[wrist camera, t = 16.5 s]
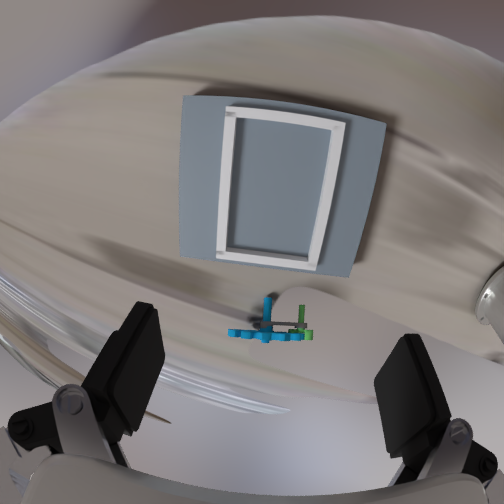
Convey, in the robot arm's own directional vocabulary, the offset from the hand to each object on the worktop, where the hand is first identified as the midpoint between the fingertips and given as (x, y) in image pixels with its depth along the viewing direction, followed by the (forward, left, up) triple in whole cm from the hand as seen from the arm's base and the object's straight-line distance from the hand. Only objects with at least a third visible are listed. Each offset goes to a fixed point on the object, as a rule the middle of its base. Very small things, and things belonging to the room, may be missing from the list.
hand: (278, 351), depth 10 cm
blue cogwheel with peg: (-2, +20, -24) cm, 31 cm away
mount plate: (0, 0, -23) cm, 22 cm away
